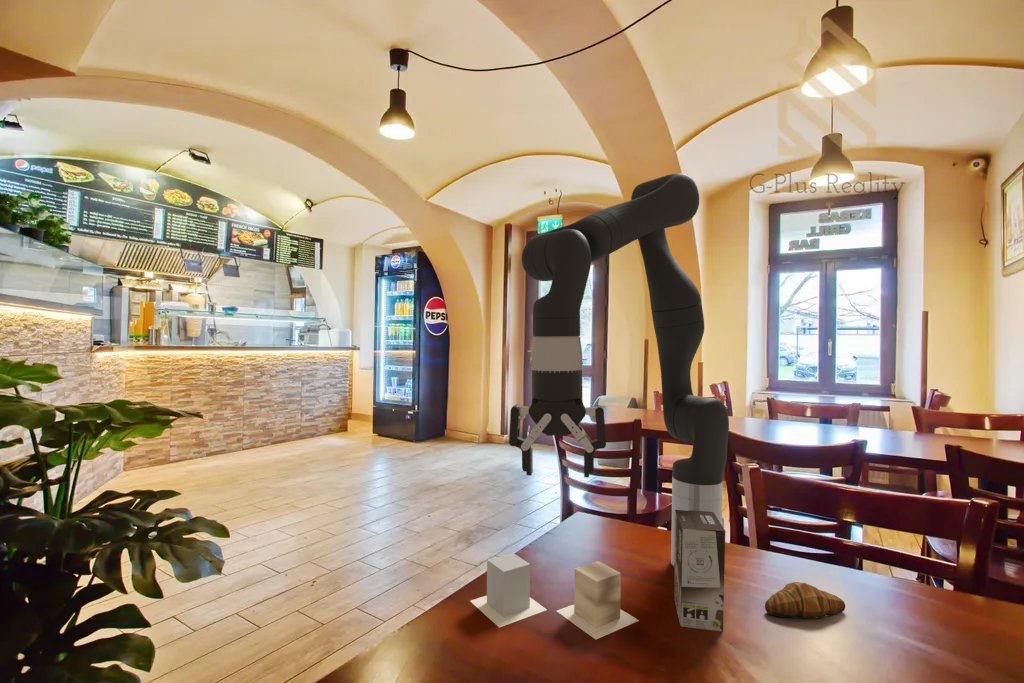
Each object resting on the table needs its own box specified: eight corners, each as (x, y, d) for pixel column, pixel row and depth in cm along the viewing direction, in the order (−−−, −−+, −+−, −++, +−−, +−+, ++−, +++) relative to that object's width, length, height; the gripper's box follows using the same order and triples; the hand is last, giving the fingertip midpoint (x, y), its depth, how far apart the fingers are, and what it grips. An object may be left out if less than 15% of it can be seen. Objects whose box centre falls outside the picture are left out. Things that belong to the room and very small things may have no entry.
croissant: (827, 600, 87) (828, 571, 87) (858, 622, 80) (859, 591, 80) (753, 604, 86) (753, 574, 86) (778, 627, 79) (779, 595, 79)
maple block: (597, 603, 82) (598, 560, 82) (620, 618, 78) (620, 573, 78) (574, 612, 80) (574, 568, 80) (596, 628, 75) (596, 581, 75)
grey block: (512, 594, 85) (512, 552, 85) (529, 607, 81) (530, 564, 81) (486, 602, 82) (487, 559, 82) (503, 617, 78) (503, 571, 78)
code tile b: (515, 593, 88) (515, 586, 88) (547, 617, 80) (547, 609, 80) (469, 608, 83) (469, 600, 83) (499, 635, 75) (499, 627, 75)
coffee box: (725, 640, 75) (726, 531, 75) (679, 634, 76) (681, 527, 76) (713, 607, 84) (715, 510, 84) (672, 603, 85) (674, 507, 85)
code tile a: (597, 602, 85) (597, 595, 85) (638, 628, 78) (639, 620, 78) (556, 618, 80) (556, 610, 80) (595, 647, 73) (595, 639, 73)
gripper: (605, 365, 78) (605, 470, 78) (513, 365, 80) (514, 466, 81) (605, 369, 71) (606, 484, 71) (505, 368, 73) (506, 480, 73)
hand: (557, 475), depth 76 cm, fingers open, 8 cm apart
